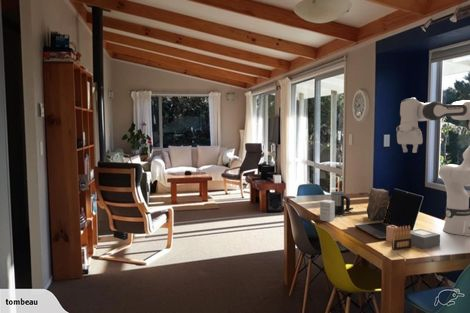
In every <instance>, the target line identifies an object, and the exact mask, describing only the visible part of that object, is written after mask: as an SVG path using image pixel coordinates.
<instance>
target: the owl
mask: <svg viewBox="0 0 470 313" xmlns="http://www.w3.org/2000/svg"><path fill="white" fill-rule="evenodd" d="M389 193H390V190H386V189H384V188H374V187H370V192H369V194H368V204H367V208H366V215H367V219H368V220H369V222H384V221H383V220H384V218H385V215H386V212H387V208H389V205H390V198H389V196H390V195H389Z"/></svg>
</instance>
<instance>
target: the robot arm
mask: <svg viewBox="0 0 470 313" xmlns="http://www.w3.org/2000/svg"><path fill="white" fill-rule="evenodd" d="M399 116H400V124H399V125H397V127H396V141H397V144H398V145H401V147H402V152H403V153H408V148H407V145H412V146H413V147H412V153H414V154H415V153H417V152H418V147H419V145H422V144H423V142H424V141H423V140H424V139H423V134H422V133H423V132H422V131H421V128H420V127H419V122H427V121H439V120H441V119H443V118H444V117H450V118H451V119H453V120H457V121H464V122H465V123H464V125H465V129H466V130H467V131H468V132H470V100H458V101H454V102H452V103H451V104H444V103H442V102H440V101H435V100H434V101H431V102H425V103H424V102H421V101H419V100H417V98H416V97H411V98H405V99H403V100H401V103H400V109H399ZM462 159H463V161H462V162H461V164H460V165H459V164H454V163H448V164H444V165H442V166H441V167H440V168H439V171H438V175H439V178H440V179H441V180H442V181H443V183H444V187H445V192H446V207H445V221H444V224H443V228H442V231H443V232H444V233H448V234H452V235H460V236H461V235H462V236H464V237H465V236H466V237H470V208H469V206H470V195H469V193H468V192H467V191H466V188H465V187H469V186H470V145H469V146H468V147H467V148H466V149H465V150H464V152H463V153H462Z"/></svg>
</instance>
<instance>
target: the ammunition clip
mask: <svg viewBox="0 0 470 313" xmlns="http://www.w3.org/2000/svg"><path fill="white" fill-rule="evenodd" d="M410 231H411V226H410V224H409V225H408V226H407V225H403V226H401V225H400V226H398V225H397V230H396V227H394V232H393V239H392V243H391V249H392V250H393V251H398V250H406V249H407V250H408V249H412V245H411V232H410Z"/></svg>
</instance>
